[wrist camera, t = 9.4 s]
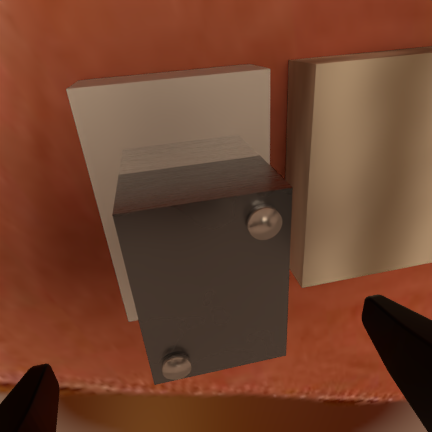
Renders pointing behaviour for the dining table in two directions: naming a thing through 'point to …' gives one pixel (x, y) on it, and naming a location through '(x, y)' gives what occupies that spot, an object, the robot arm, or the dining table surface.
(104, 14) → the dining table surface
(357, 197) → the stand
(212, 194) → the housing
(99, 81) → the stand
